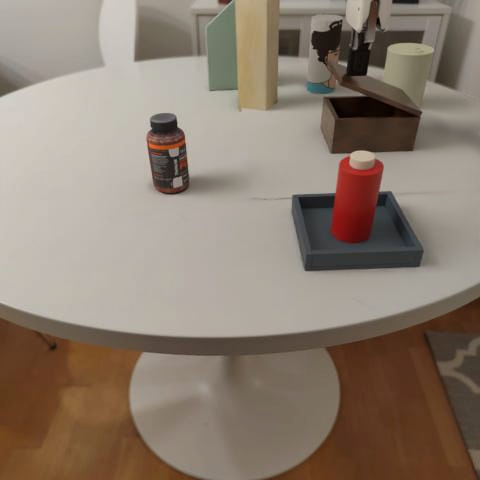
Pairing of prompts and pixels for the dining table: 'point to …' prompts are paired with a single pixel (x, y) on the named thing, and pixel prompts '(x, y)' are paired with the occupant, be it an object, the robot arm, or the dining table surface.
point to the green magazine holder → (222, 50)
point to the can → (408, 68)
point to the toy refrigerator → (257, 53)
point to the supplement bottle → (167, 154)
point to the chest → (366, 125)
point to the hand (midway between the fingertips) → (356, 74)
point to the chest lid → (374, 89)
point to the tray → (354, 254)
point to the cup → (323, 52)
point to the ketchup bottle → (356, 196)
